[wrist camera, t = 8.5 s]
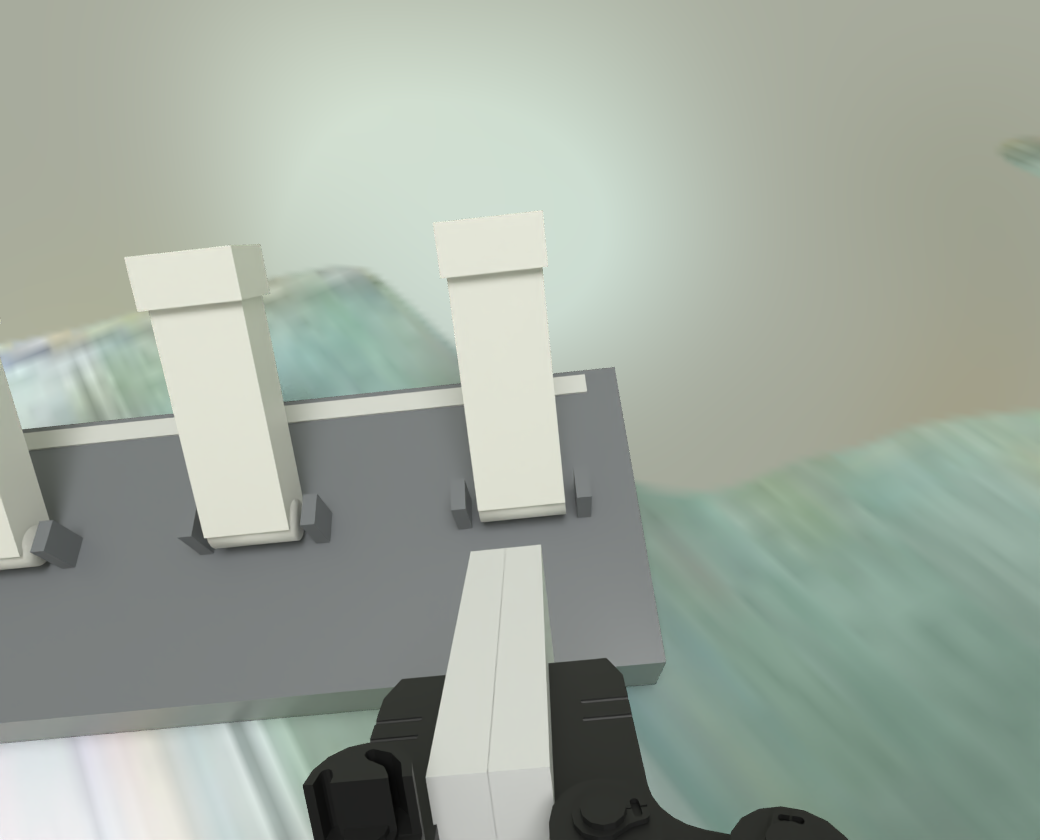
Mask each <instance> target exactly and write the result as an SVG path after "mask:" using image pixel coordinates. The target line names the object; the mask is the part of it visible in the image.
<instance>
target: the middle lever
mask: <svg viewBox="0 0 1040 840" xmlns="http://www.w3.org/2000/svg"><path fill="white" fill-rule="evenodd" d="M124 259H125V263H126V267H127V271H128V275H129V279H130V283H131V287H132V291H133V295H134V299H135V303H136V307H137V311H138V312H139V311H149V315H150V319H151V323H152V327H153V331H154V335H155V339H156V343H157V347H158V352H159V356H160V360H161V364H162V368H163V372H164V376H165V380H166V384H167V388H168V393H169V397H170V401H171V405H172V409H173V413H174V417H175V421H176V425H177V429H178V434H179V438H180V442H181V446H182V450H183V454H184V458H185V462H186V466H187V470H188V474H189V479H190V483H191V487H192V491H193V495H194V499H195V503H196V507H197V511H198V515H199V520H200V524H201V528H202V532H203V536H204V538H207V540H208V543H209V544H210V546H211V547H212V548H215V549H218V548H228V547H238V546H248V545H258V544H268V543H278V542H288V541H299V540H301V538H302V536H303V534H304V529H303V528H302V527H301V526H300V521H301V510H302V500H303V496H302V491H301V486H300V481H299V476H298V471H297V466H296V462H295V457H294V452H293V447H292V442H291V437H290V432H289V427H288V422H287V417H286V412H285V407H284V402H283V397H282V392H281V387H280V382H279V377H278V372H277V367H276V362H275V357H274V352H273V347H272V342H271V337H270V332H269V327H268V322H267V317H266V312H265V307H264V302H263V297H262V295H266V294H270V290H269V285H268V280H267V275H266V270H265V265H264V260H263V255H262V250H261V245H260V244H257V245H256V244H255V245H229V246H221V247H213V248H203V249H194V250H185V251H176V252H168V253H158V254H149V255H141V256H132V257H124Z"/></svg>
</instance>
